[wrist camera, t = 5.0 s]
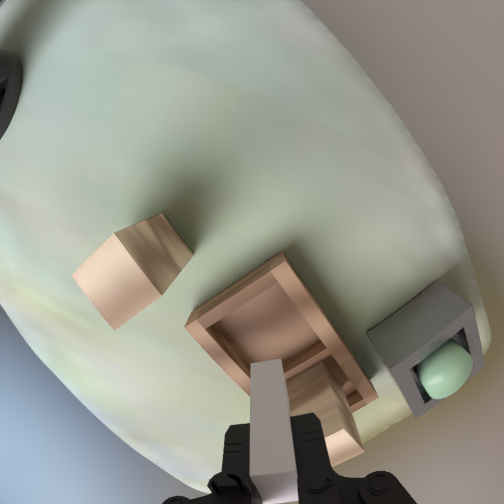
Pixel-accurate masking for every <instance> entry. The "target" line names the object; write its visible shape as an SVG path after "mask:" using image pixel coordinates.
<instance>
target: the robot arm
mask: <svg viewBox="0 0 504 504" xmlns="http://www.w3.org/2000/svg"><path fill="white" fill-rule="evenodd" d="M1 2H2V0H0V3H1ZM21 80H22V68H21V63H20V60H19V58H18V57H17V56H16V55H15V54H13V53H10V52H8V51H5V50H0V138H1V137H2V135H3V134H4V132H5V130H6V128H7V126H8V124H9V122H10V120H11V118H12V115H13V113H14V110H15V107H16V104H17V101H18V97H19V93H20V88H21ZM223 452H224V453H223V462H222V472H220V473H218V474H216V475H214V476H213V477H212V478H211V479H210V480H209V483H208V485H207V486H208V488H209V489H210V490H211V492H212V493H211V494H209V495H206V496H203V497H199V498H195V499H191V500H190V499H188V498H186V497H184V496H174V497H170V498H168V499H167V500H165V501H164V502H163V503H162V504H262V502H263V504H275V503H284V502H292V501H298V500H299V504H417V503H416V502H415V501H414V499H413V498H412V497H411V496H410V494H409V493H408V492H407V491H406V489H405V488H404V487H403V486H402V484H401V483H400V482H399V481H398V480H397V478H396V477H395V476H394V475H393V474H391V473H390V472H386V471H376V472H373V473H370V474H368V475H367V476H366V477H364V478H348V477H343V476H340V475H338V474H337V473H335V471H334V470H333V469H332V466H331V463H330V459H329V454H328V450H327V446H326V442H325V438H324V433H323V429H322V425H321V421H320V419H319V418H318V417H317V416H316V415H315V414H314V413H313V412H312V413H307V414H302V415H297V416H291V412H290V405H289V398H288V392H287V387H286V382H285V377H284V372H283V366H282V361H281V358H280V359H274V360H269V361H263V362H256V363H251V372H250V423H247V424H237V425H230V427H229V429H228V430H227V432H226V433H225V440H224V451H223Z"/></svg>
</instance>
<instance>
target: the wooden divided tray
mask: <svg viewBox="0 0 504 504" xmlns="http://www.w3.org/2000/svg"><path fill="white" fill-rule="evenodd" d="M185 329H186V330H187V331H188V332H189V333H190V334H191V335H192V337H193V338H194V339H195V340H196V341H197V342H198V343H199V344H200V345H201V347H202V348H203V349H204V350H205V351H206V352H207V353H208V354H209V355H210V356H211V357H212V358H213V360H214V361H215V362H216V363H217V364H218V365H219V366H220V367H221V368H222V369H223V370H224V371H225V372H226V373H227V374H228V375H229V376H230V377H231V378H232V379H233V380H234V381H235V382H236V383H237V384H238V385H239V386H240V387H241V388H242V389H243V390H244V391H245V392H246V393H247V394H248V395H249V396H250V372H251V363H256V362H263V361H269V360H274V359H280V358H281V361H282V366H283V372H284V377H285V381H287V380H289V379H291V378H293V377H295V376H296V375H298V374H300V373H302V372H304V371H305V370H307V369H309V368H311V367H312V366H314V365H316V364H318V363H319V362H321V361H323V363H324V364H325V365H326V367H327V368H328V369H329V370H330V372H331V373H332V374H333V376H334V377H335V378H336V380H337V381H338V382H339V383H340V385H341V386H342V388H343V390H344V393H345V396H346V399H347V401H348V404H349V407H350V410H351V413H353V412H355V411H356V410H358V409H360V408H362V407H364V406H365V405H367V404H369V403H370V402H372V401H374V400H375V399H377V398H379V397H378V395H377V393H376V391H375V389H374V387H373V385H372V383H371V381H370V379H369V378H368V376H367V375H366V373H365V372H364V370H363V369H362V367H361V366H360V364H359V363H358V361H357V360H356V358H355V357H354V355H353V354H352V352H351V351H350V349H349V348H348V346H347V345H346V343H345V342H344V340H343V339H342V337H341V336H340V334H339V333H338V331H337V330H336V328H335V327H334V325H333V324H332V322H331V321H330V319H329V318H328V316H327V315H326V314H325V312H324V311H323V309H322V308H321V306H320V305H319V303H318V302H317V300H316V299H315V298H314V296H313V295H312V293H311V292H310V290H309V289H308V287H307V286H306V285H305V283H304V282H303V280H302V279H301V277H300V276H299V274H298V273H297V272H296V270H295V269H294V267H293V266H292V265H291V263H290V262H289V260H288V259H287V257H286V256H285V255H284V253H283V252H280V253H279V254H277V255H276V256H274V257H273V258H271V259H270V260H269V261H267V262H266V263H264V264H263V265H261V266H260V267H258V268H257V269H255V270H254V271H252V272H251V273H249V274H248V275H246V276H245V277H243V278H242V279H240V280H239V281H238V282H236V283H235V284H233V285H232V286H230V287H229V288H227V289H226V290H224V291H223V292H221V293H220V294H218V295H217V296H215V297H214V298H212V299H211V300H209V301H208V302H206V303H205V304H203V305H202V306H200V307H199V308H197V309H196V310H194V311H193V312H191V314H190V316H189V318H188V320H187V323H186V325H185Z"/></svg>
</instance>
